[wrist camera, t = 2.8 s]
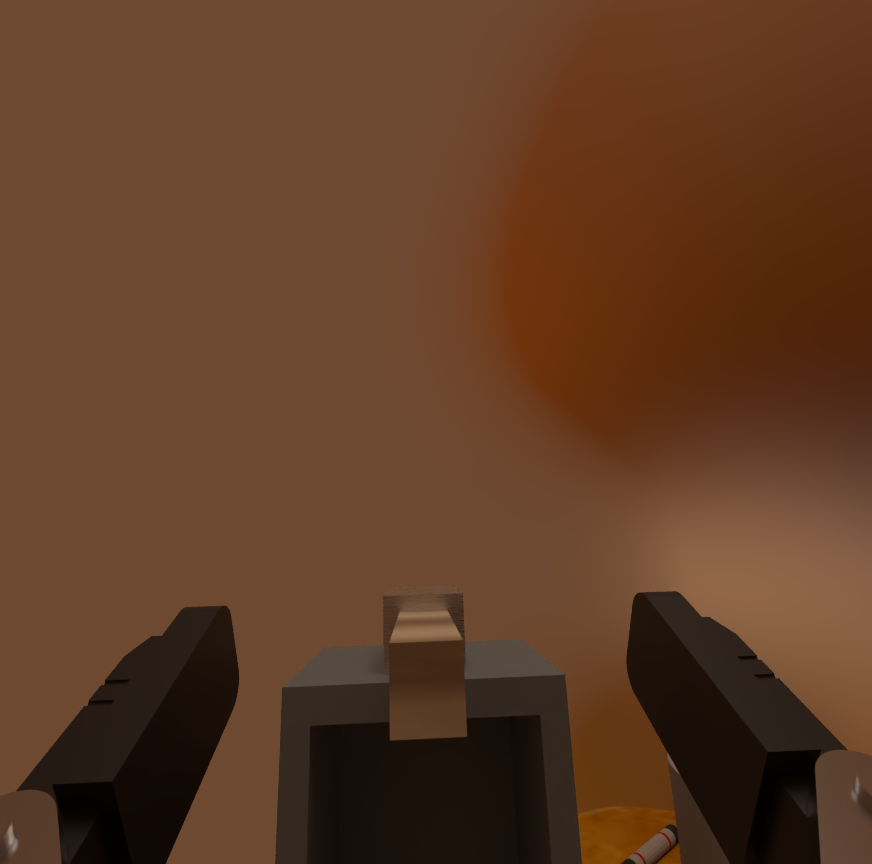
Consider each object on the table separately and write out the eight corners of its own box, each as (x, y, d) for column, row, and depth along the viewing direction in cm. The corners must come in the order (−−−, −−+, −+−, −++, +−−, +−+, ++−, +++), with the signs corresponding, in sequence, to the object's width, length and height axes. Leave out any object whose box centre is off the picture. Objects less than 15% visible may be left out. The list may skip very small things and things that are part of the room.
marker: (667, 838, 68) (665, 821, 68) (681, 844, 66) (679, 827, 67) (608, 889, 58) (606, 869, 58) (623, 897, 57) (621, 876, 57)
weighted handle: (492, 735, 19) (486, 613, 20) (363, 741, 19) (364, 617, 20) (456, 646, 37) (453, 585, 39) (390, 649, 37) (390, 587, 38)
